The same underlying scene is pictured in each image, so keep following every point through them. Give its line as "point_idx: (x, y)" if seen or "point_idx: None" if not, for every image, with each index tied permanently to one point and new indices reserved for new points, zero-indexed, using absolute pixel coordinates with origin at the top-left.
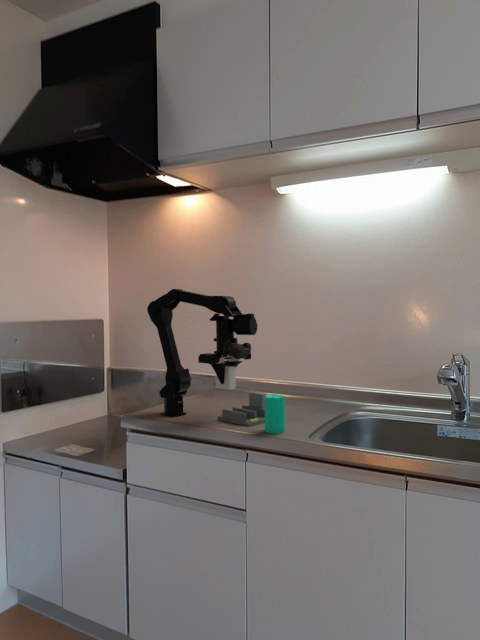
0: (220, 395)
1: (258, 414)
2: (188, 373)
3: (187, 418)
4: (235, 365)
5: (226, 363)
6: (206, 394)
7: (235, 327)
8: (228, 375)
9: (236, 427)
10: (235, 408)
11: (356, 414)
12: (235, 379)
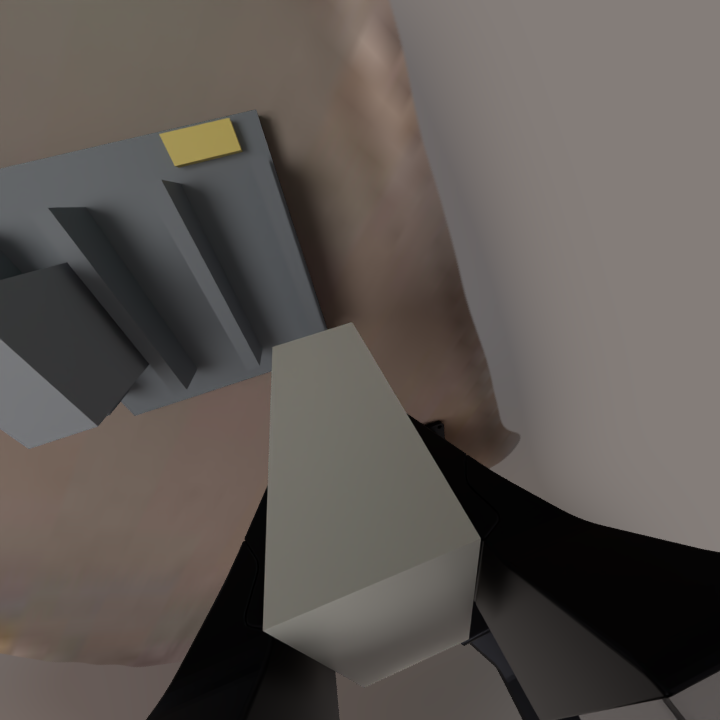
0: (172, 614)
1: (116, 261)
2: None
3: (412, 395)
4: (205, 714)
5: (683, 659)
6: None
7: None
8: (404, 418)
9: (331, 150)
10: (249, 346)
11: None
12: (271, 404)
